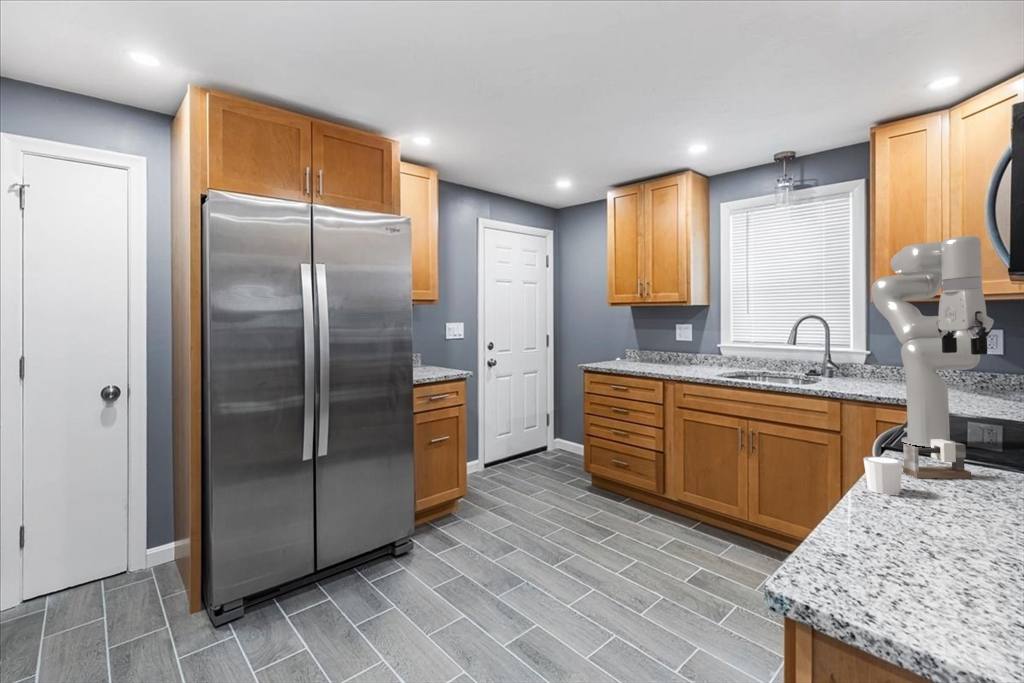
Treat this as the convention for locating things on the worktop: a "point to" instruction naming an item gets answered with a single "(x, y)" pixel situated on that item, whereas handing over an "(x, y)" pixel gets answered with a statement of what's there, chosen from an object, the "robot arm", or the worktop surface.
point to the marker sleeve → (944, 450)
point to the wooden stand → (934, 471)
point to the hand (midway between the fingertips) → (963, 353)
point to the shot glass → (883, 474)
